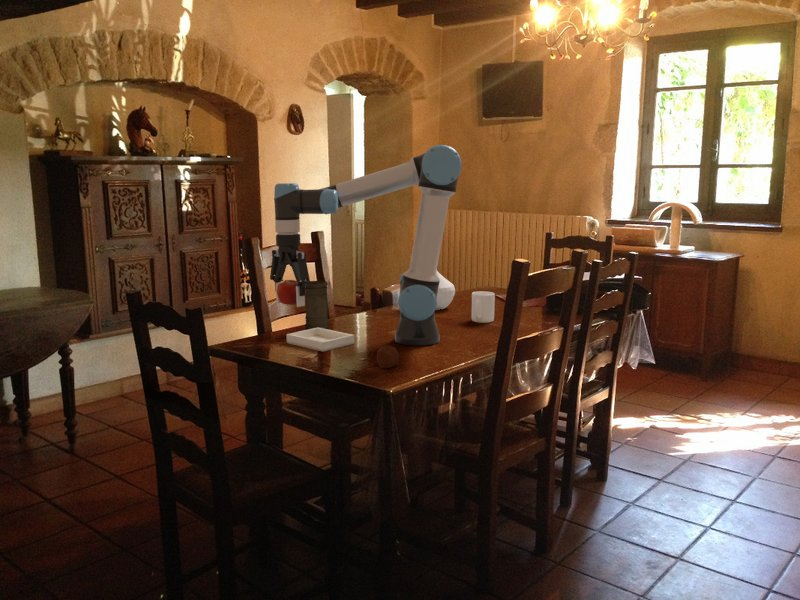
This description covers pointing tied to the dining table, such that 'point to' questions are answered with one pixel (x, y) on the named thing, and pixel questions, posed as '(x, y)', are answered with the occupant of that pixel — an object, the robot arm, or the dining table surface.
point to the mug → (483, 306)
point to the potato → (387, 357)
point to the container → (316, 305)
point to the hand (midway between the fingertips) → (290, 304)
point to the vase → (444, 292)
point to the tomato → (287, 292)
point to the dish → (320, 339)
